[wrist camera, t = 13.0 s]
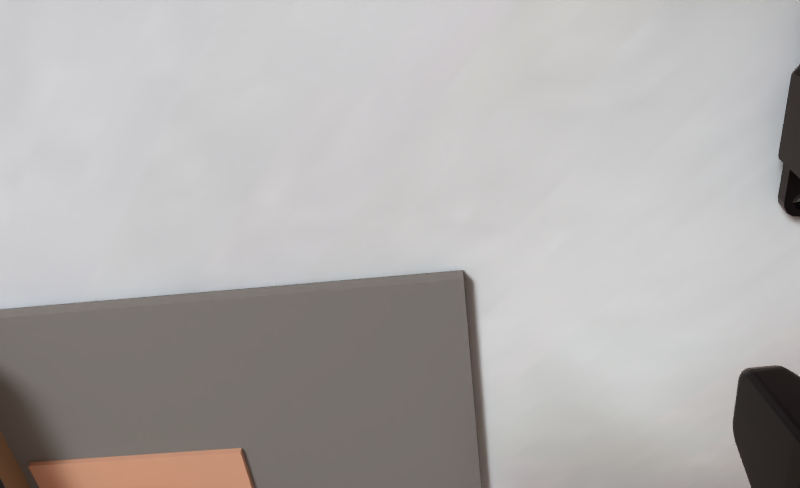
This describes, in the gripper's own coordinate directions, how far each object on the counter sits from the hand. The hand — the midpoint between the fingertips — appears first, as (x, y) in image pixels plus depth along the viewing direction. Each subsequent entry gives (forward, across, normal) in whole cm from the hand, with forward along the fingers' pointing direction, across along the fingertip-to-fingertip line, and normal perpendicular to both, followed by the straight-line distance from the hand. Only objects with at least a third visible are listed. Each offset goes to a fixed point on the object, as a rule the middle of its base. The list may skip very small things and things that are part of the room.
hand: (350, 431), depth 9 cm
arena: (+13, +7, +14) cm, 20 cm away
